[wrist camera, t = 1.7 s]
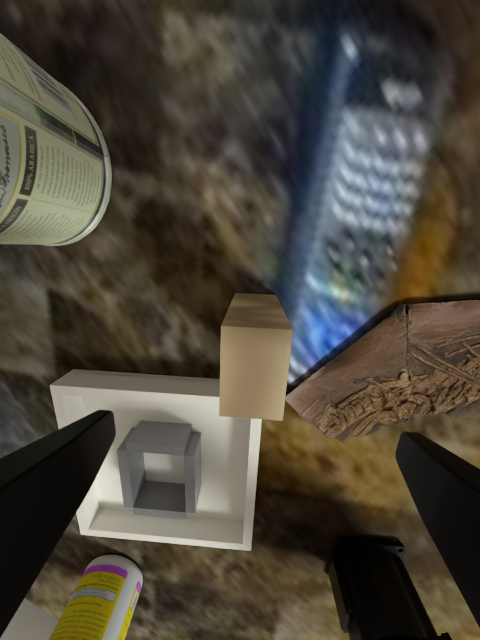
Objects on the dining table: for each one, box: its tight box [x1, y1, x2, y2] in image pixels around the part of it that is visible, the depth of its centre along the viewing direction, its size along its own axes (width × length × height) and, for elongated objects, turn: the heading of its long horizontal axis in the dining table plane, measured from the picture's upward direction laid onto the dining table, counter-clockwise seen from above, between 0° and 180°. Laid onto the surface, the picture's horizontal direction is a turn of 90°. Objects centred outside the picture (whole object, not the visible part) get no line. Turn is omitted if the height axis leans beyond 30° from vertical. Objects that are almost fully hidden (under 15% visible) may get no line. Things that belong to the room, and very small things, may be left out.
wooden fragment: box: [285, 300, 480, 443], centre depth 18 cm, size 26×11×1 cm, turn 108°
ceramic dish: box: [50, 369, 262, 551], centre depth 21 cm, size 16×16×3 cm
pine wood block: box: [219, 293, 293, 421], centre depth 14 cm, size 3×4×8 cm, turn 178°
